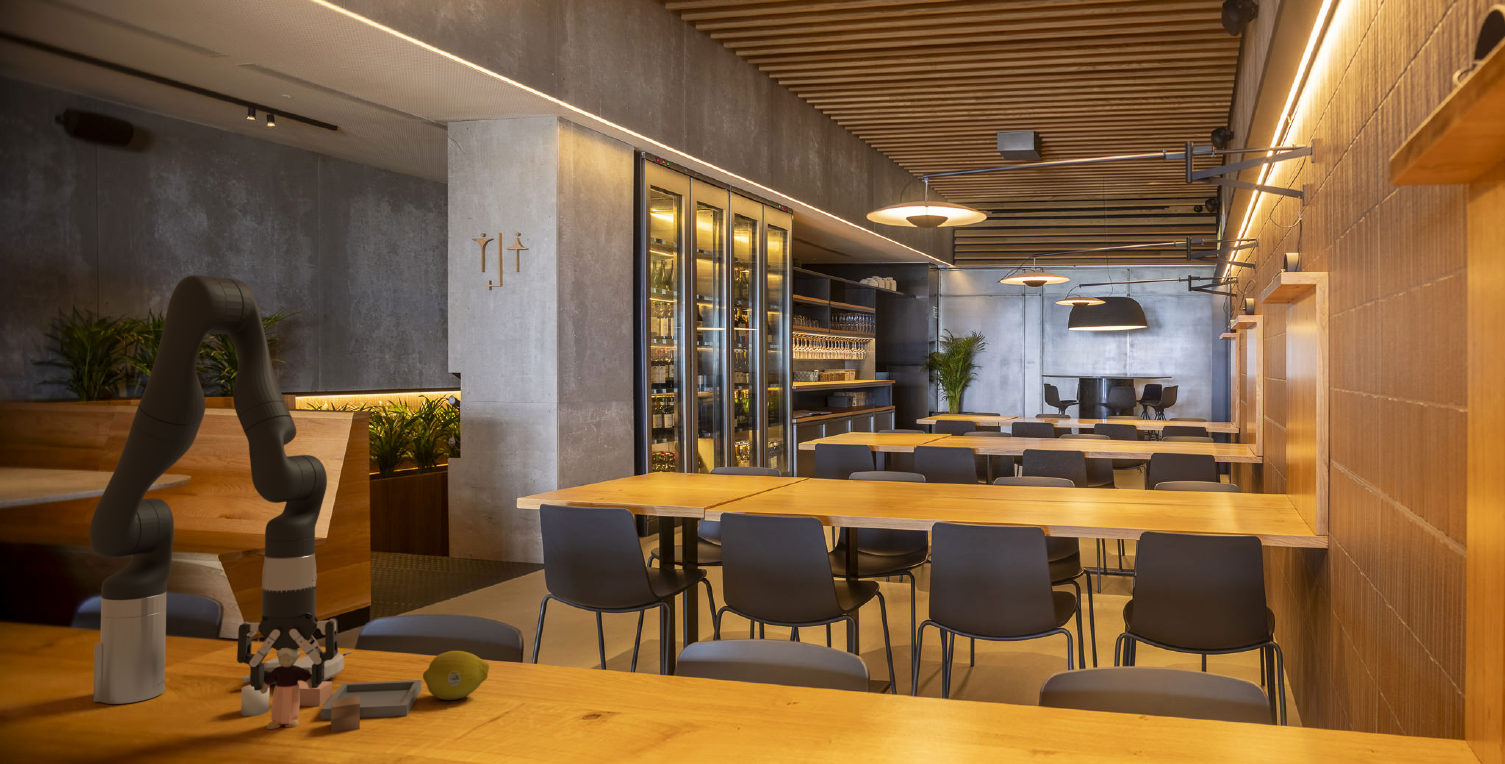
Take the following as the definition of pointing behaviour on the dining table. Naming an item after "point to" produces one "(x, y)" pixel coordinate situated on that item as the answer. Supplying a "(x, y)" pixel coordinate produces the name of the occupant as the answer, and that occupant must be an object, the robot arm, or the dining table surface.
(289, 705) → the grandmother figurine
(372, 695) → the tray
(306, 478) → the robot arm
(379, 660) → the dining table surface
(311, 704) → the terracotta block
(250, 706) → the white rounded cylinder block
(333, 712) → the walnut cube
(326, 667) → the robot toy
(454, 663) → the lemon
